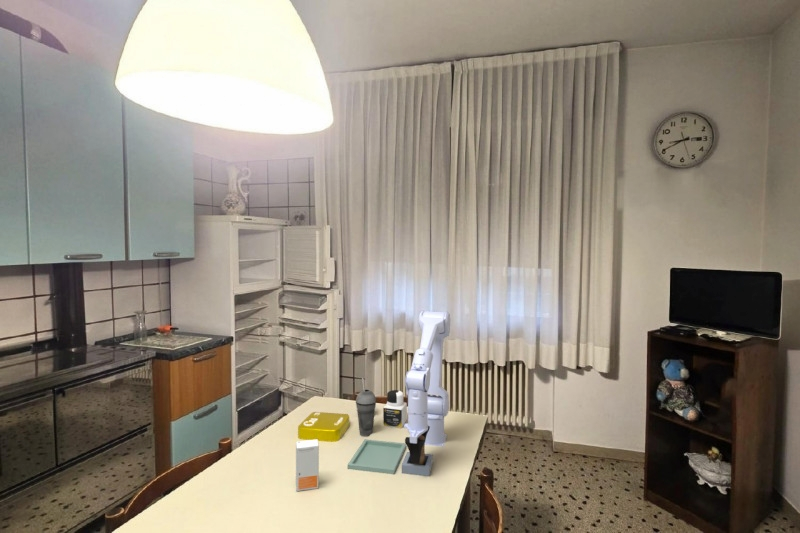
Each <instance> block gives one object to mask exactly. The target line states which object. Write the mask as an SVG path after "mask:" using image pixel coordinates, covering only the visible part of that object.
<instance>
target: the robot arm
mask: <svg viewBox="0 0 800 533" xmlns="http://www.w3.org/2000/svg"><path fill="white" fill-rule="evenodd" d="M418 326H419V328H420V331H421V338H420V339H421V340H420V346H419V348H418V349H416V350H415V352H414V355H413V359H412V363H411V367H410V370H409V371H406V375H405V381H404V385H405V390H406V392H405V393H406V396H407V423H406V422H405V424H404V425H403V428H404V429H407V432H408V434H409V436H406V437H405V439H404V443H406V448H407V449H408V452H410V457H411V461H412V463H419V462H420V457H421V450H422V447H423V445H424V443H425V446H434V447H442V448H443V447H445V443H446V440H447V436H448V435H447V434H446V433H445V417H447V416H448V414H449V410H450V400H449V398H450V396H449V392H448V391H447V390H446V389H445V388H444V387H443V386H442V376H443V375H442V372H443V354H444V353H443V352H444V341H445V338H447V337H449V336H450V333H451V314H450V313H449V311H430V310H422V311H420V313H419V316H418ZM420 435H422V436H424V437H425V440H419V436H420Z"/></svg>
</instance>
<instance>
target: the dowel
mask: <svg viewBox="0 0 800 533" xmlns="http://www.w3.org/2000/svg"><path fill="white" fill-rule="evenodd" d="M419 440H425V437H424V436H422V435H420V436H419ZM425 446H426V445H425V443H424V445H423V447H422V450H421V457H420V462H419V463H412V461H411V464H417V465H425V454H426V453H425V452H426V451H425Z"/></svg>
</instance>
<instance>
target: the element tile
mask: <svg viewBox="0 0 800 533" xmlns="http://www.w3.org/2000/svg"><path fill="white" fill-rule="evenodd" d="M349 427H350V415H349V414H348V413H338V412H324V411H323V412H322V411H321V412H320V411H313V412H311V413H310V414H309V415H308V416H306V418H305V419H304V420H303V421H302V422H301V423H299V425H298V426H297V436H298V437H297V438H298V439H299V440H302V441H305V440H316V439H318V442H329V443H335V442H339V441H340V440H341V439H342V437H343V436H344V434H345V433H346V432H347V431H348V429H349Z"/></svg>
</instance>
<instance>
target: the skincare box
mask: <svg viewBox="0 0 800 533" xmlns="http://www.w3.org/2000/svg"><path fill="white" fill-rule="evenodd" d="M319 447H320V446H319V441H318V439H316V440H300V441H295V488H296V492H300V491H308V490H315V489H319V485H320V484H319V483H320V482H319V477H320V476H319V474H320V472H319V468H320V463H319V461H320V460H319V459H320V458H319V457H320V454H319V453H320V450H319Z"/></svg>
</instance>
